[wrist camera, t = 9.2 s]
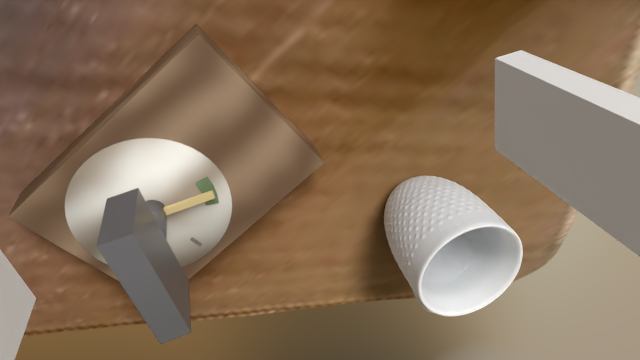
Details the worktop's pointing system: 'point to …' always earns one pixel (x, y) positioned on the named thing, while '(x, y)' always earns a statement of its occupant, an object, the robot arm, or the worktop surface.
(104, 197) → the tuner board
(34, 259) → the worktop surface
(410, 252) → the mug
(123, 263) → the peg knob
